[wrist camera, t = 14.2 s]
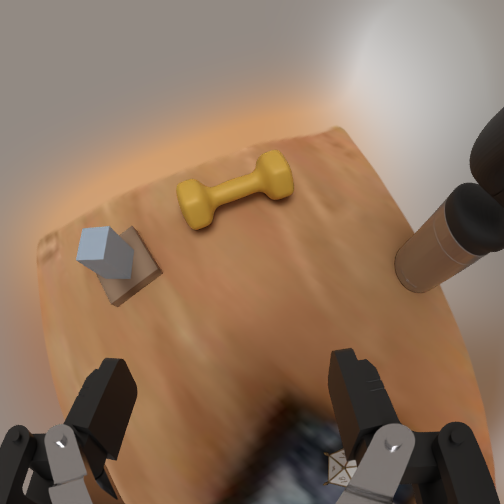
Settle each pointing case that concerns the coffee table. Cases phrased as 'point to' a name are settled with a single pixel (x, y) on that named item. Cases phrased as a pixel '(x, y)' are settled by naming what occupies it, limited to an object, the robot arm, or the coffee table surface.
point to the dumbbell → (235, 189)
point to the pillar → (105, 253)
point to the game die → (340, 468)
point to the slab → (140, 274)
